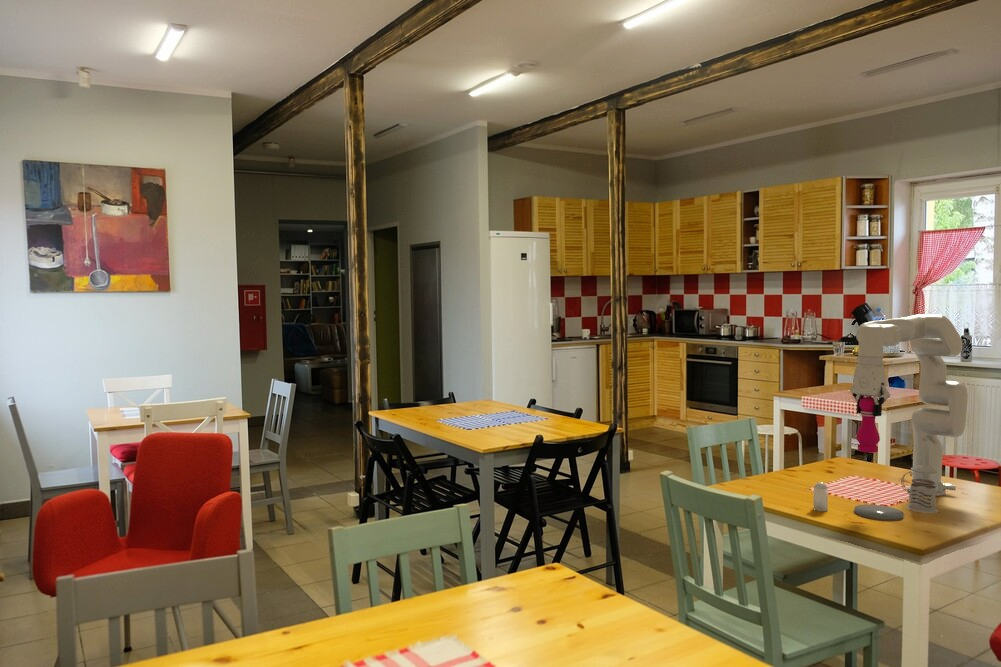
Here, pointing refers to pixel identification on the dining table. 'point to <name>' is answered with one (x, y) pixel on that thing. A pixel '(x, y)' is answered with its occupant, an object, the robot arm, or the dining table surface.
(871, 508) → the disc
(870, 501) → the dining table surface
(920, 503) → the french press
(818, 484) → the salt shaker
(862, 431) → the pepper mill
